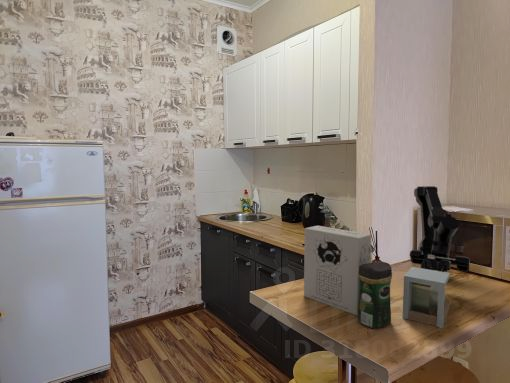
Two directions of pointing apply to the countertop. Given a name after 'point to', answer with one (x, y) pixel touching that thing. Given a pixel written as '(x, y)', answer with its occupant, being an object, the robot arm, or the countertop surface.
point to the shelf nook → (430, 279)
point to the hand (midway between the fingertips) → (435, 281)
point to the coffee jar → (375, 294)
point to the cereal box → (335, 266)
